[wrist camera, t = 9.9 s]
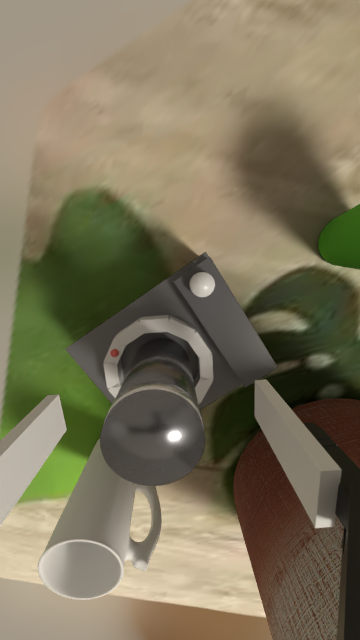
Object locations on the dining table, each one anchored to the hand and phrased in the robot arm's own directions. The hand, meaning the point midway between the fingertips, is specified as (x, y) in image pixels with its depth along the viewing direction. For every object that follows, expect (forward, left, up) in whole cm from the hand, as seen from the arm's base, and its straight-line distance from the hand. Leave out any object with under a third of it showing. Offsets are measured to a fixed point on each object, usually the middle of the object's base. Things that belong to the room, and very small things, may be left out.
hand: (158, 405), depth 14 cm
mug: (+13, +10, -12) cm, 20 cm away
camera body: (-1, 0, -12) cm, 12 cm away
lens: (0, 0, -7) cm, 7 cm away
